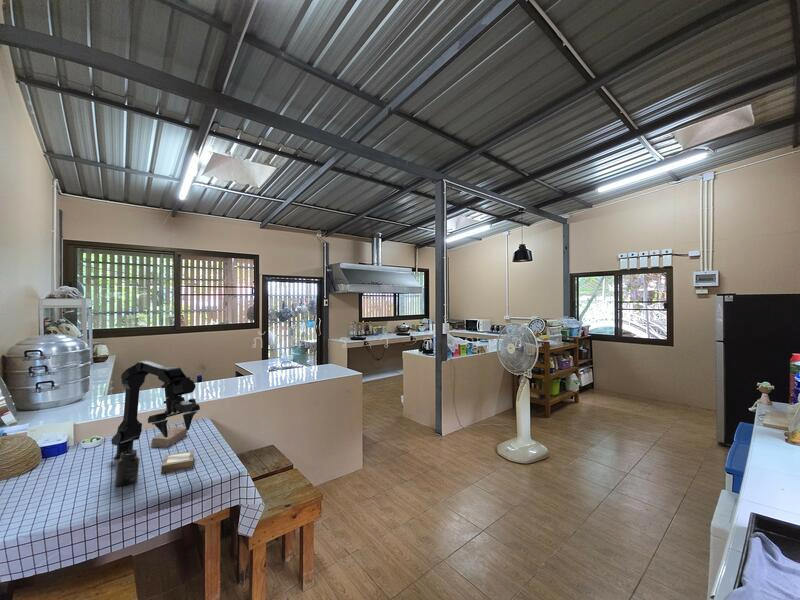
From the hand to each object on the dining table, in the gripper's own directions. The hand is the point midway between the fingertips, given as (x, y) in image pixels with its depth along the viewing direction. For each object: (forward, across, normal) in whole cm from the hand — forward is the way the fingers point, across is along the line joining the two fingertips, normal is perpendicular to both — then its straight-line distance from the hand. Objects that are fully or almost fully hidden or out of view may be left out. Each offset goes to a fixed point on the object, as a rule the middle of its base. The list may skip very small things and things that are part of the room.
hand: (177, 433), depth 134 cm
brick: (+7, +20, +36) cm, 42 cm away
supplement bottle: (+13, -14, +10) cm, 22 cm away
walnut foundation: (+14, +4, +8) cm, 16 cm away
